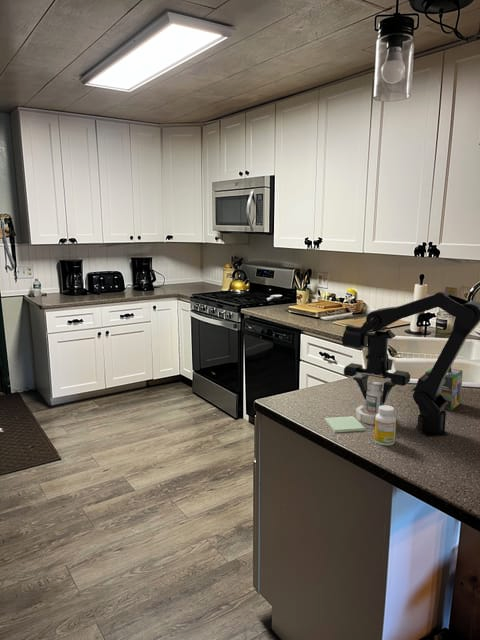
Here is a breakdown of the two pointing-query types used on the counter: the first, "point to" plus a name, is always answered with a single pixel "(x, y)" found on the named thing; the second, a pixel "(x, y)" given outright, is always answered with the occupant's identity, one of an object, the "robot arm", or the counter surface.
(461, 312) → the robot arm
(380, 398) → the pill bottle
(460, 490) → the counter surface
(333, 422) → the pad
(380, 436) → the supplement bottle
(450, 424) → the counter surface
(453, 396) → the chalk box
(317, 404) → the counter surface
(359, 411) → the locking ring
